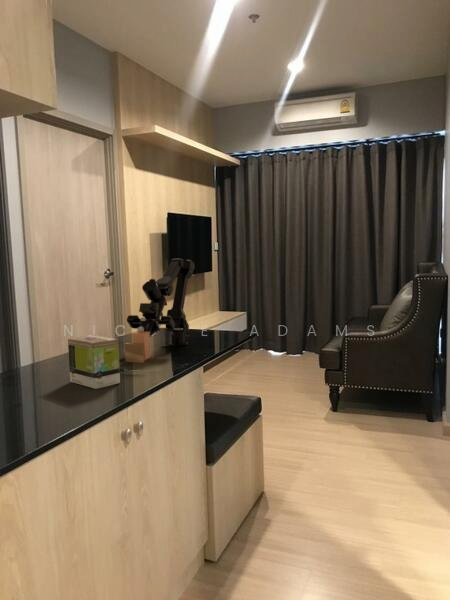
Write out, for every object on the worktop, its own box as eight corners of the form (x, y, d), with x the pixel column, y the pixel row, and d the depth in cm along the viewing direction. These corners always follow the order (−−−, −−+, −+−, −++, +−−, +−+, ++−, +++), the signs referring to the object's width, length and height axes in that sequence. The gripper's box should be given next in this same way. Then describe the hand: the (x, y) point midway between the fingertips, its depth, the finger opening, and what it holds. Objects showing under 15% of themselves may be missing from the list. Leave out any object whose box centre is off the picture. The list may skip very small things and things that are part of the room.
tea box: (121, 383, 167) (119, 338, 165) (94, 390, 160) (92, 343, 158) (95, 376, 177) (93, 333, 176) (69, 382, 170) (66, 337, 168)
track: (146, 355, 207) (145, 335, 206) (162, 356, 205) (161, 336, 204) (125, 365, 192) (124, 343, 191) (142, 366, 189) (141, 344, 188)
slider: (138, 356, 199) (137, 325, 198) (150, 357, 197) (149, 325, 196) (133, 359, 195) (131, 327, 193) (145, 360, 193) (143, 327, 192)
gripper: (127, 294, 204) (114, 327, 195) (170, 295, 198) (159, 328, 189) (138, 312, 212) (125, 343, 203) (179, 312, 206) (169, 345, 197)
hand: (144, 340), depth 198 cm, fingers closed, pressing on slider
